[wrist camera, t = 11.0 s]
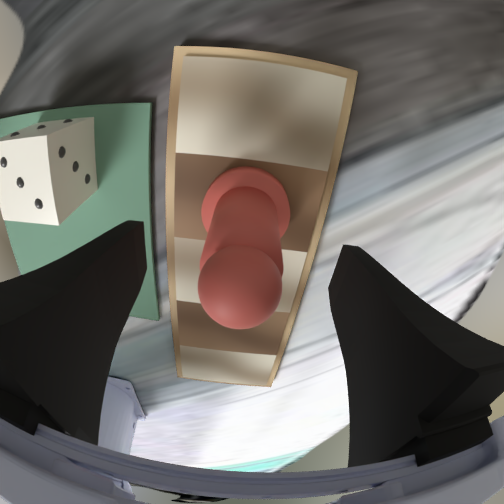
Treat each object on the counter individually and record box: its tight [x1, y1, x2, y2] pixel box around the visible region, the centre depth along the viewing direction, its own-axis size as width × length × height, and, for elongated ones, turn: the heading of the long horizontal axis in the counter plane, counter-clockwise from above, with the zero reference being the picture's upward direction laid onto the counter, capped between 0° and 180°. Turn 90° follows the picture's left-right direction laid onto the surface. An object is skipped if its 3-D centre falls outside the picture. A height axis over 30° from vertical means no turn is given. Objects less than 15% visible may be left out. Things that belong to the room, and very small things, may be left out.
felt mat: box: [0, 103, 160, 321], centre depth 15 cm, size 14×12×1 cm
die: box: [0, 117, 98, 226], centre depth 11 cm, size 4×4×4 cm
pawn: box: [198, 166, 290, 329], centre depth 11 cm, size 4×4×7 cm
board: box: [166, 46, 358, 387], centre depth 17 cm, size 24×8×1 cm, turn 173°
